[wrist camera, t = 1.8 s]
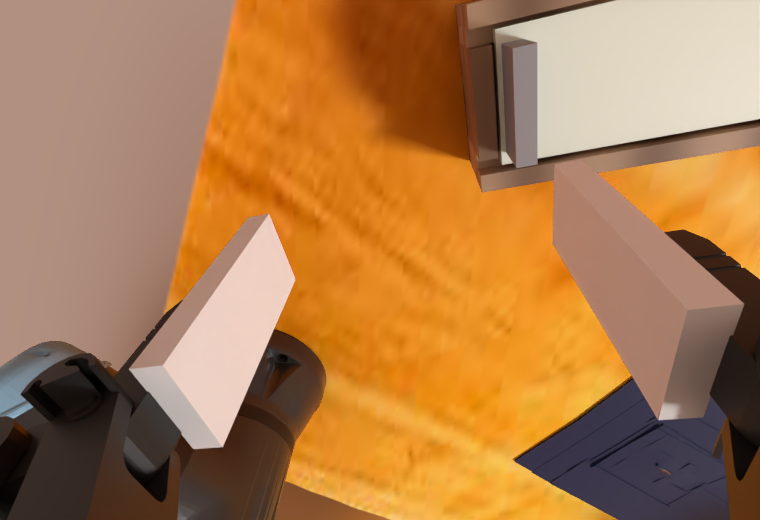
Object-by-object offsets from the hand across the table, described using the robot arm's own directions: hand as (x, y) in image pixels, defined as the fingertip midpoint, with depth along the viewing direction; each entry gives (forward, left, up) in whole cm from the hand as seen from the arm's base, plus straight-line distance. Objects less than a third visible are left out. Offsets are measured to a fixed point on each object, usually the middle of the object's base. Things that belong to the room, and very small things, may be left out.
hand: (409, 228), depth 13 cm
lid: (+15, 0, -15) cm, 21 cm away
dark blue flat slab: (+25, -51, -21) cm, 60 cm away
